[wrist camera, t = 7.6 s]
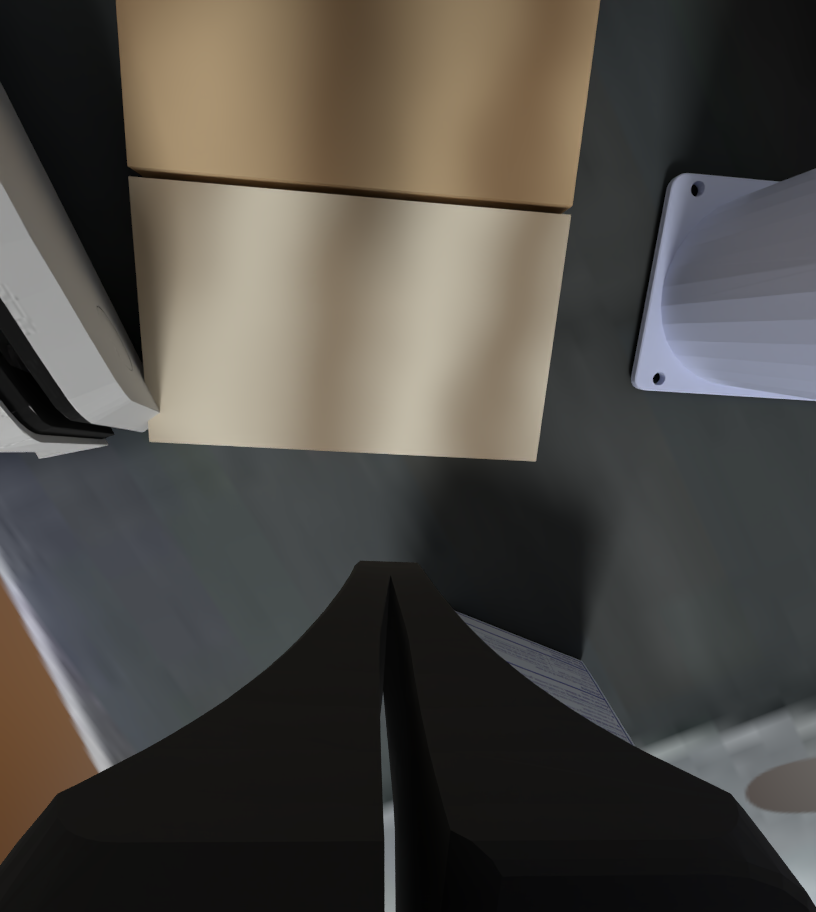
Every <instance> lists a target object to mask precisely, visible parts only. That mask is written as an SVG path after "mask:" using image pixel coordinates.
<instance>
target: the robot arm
mask: <svg viewBox="0 0 816 912" xmlns="http://www.w3.org/2000/svg"><path fill="white" fill-rule="evenodd" d="M693 184H694V185H696V187H697V188H698V193H697V195H696V197H695V196H693V195H692V193H691V187H692V185H693ZM656 373H659V375H660V379H659V381H658V382H657V383H656V384H654V383H653V377H654V375H655V374H656ZM631 382H632V384H633V386H634V387H635V388H638V389H641V390H650V391H666V392H682V393H698V394H714V395H730V396H746V397H762V398H778V399H795V400H811V401H816V168H815V169H813V170H810V171H807V172H805V173H802V174H800V175H797V176H794V177H792V178H789V179H786V180H784V181H781V182H778V181H767V180H757V179H746V178H736V177H725V176H715V175H704V174H694V173H682V174H680V175H678V176H676V177H675V178H673V179H672V180H671V181H670V182H669V184H668V186H667V189H666V194H665V200H664V205H663V210H662V215H661V221H660V226H659V231H658V237H657V242H656V247H655V253H654V258H653V263H652V269H651V274H650V279H649V284H648V290H647V295H646V300H645V306H644V311H643V316H642V322H641V327H640V332H639V337H638V343H637V348H636V353H635V359H634V364H633V369H632V375H631ZM383 693H384V705H385V716H386V727H387V738H388V749H389V759H390V770H391V781H392V792H393V803H394V822H395V886H396V912H816V907H815V905H814V903H813V902H812V900H811V898H810V897H809V895H808V894H807V892H806V891H805V889H804V888H803V887H802V885H801V884H800V883H799V881H798V880H797V879H796V877H795V876H794V875H793V873H792V872H791V871H790V870H789V868H788V867H787V866H786V864H785V863H784V862H783V860H782V859H781V858H780V856H779V855H778V854H777V852H776V851H775V850H774V848H773V847H772V846H771V844H770V843H769V842H768V840H767V839H766V838H765V836H764V835H763V834H762V832H761V831H760V830H759V829H758V827H757V826H756V825H755V823H754V822H753V821H752V819H751V818H750V817H749V816H748V814H747V813H746V812H745V810H744V809H743V808H742V807H741V806H740V804H739V803H738V802H737V801H736V800H735V798H734V797H733V796H732V795H731V794H730V793H728V792H726V791H724V790H722V789H720V788H718V787H716V786H714V785H712V784H710V783H708V782H706V781H704V780H702V779H699V778H697V777H695V776H693V775H691V774H689V773H687V772H685V771H683V770H681V769H679V768H677V767H675V766H673V765H671V764H669V763H667V762H665V761H663V760H661V759H658V758H656V757H654V756H652V755H650V754H648V753H646V752H644V751H642V750H641V749H639V748H637V747H635V746H633V745H632V744H630V743H628V742H626V741H625V740H623V739H621V738H619V737H617V736H616V735H614V734H612V733H610V732H609V731H607V730H605V729H603V728H602V727H600V726H598V725H596V724H595V723H593V722H592V721H590V720H588V719H587V718H585V717H584V716H582V715H580V714H579V713H577V712H575V711H574V710H572V709H571V708H569V707H568V706H566V705H565V704H563V703H562V702H560V701H559V700H557V699H556V698H555V697H553V696H552V695H550V694H549V693H547V692H546V691H544V690H543V689H542V688H540V687H539V686H537V685H536V684H534V683H533V682H532V681H530V680H529V679H528V678H526V677H525V676H524V675H523V674H521V673H520V672H519V671H518V670H516V669H515V668H514V667H513V666H512V665H510V664H509V663H508V662H507V661H505V660H504V659H503V658H502V657H501V656H499V655H498V654H497V653H496V652H495V651H494V650H493V649H491V648H490V647H489V646H488V645H487V644H486V643H485V642H484V641H483V640H482V639H481V638H480V637H479V636H478V635H477V634H476V633H475V632H474V631H473V630H472V629H471V628H470V627H469V626H468V625H467V624H466V623H465V622H464V621H463V620H462V619H461V617H460V616H459V615H458V614H457V613H456V612H455V610H454V609H453V608H452V607H451V606H450V605H449V603H448V602H447V601H446V600H445V598H444V597H443V596H442V595H441V593H440V592H439V591H438V589H437V588H436V587H435V586H434V584H433V583H432V581H431V580H430V579H429V577H428V576H427V575H426V573H425V572H424V570H423V569H422V568H421V566H420V565H419V564H418V563H408V562H380V561H360V562H358V563H357V564H356V565H355V566H354V569H353V571H352V573H351V574H350V576H349V578H348V579H347V581H346V582H345V584H344V585H343V587H342V588H341V590H340V591H339V592H338V594H337V595H336V596H335V598H334V599H333V600H332V602H331V603H330V604H329V606H328V607H327V608H326V609H325V611H324V612H323V613H322V614H321V615H320V616H319V618H318V619H317V620H316V621H315V622H314V623H313V624H312V625H311V626H310V628H309V629H308V630H307V631H306V632H305V633H304V634H303V635H302V636H301V637H300V638H299V639H298V640H297V641H296V642H295V643H294V644H293V645H292V646H291V647H290V648H289V649H288V650H287V651H286V652H285V653H284V654H283V655H282V656H281V657H280V658H278V659H277V660H276V661H275V662H274V663H273V664H272V665H271V666H269V667H268V668H267V669H266V670H265V671H263V672H262V673H261V674H260V675H258V676H257V677H256V678H255V679H253V680H252V681H251V682H249V683H248V684H247V685H245V686H244V687H243V688H241V689H240V690H239V691H237V692H236V693H235V694H233V695H232V696H231V697H229V698H228V699H227V700H225V701H224V702H222V703H221V704H219V705H218V706H216V707H215V708H213V709H212V710H210V711H208V712H207V713H205V714H204V715H202V716H201V717H199V718H198V719H196V720H194V721H193V722H191V723H189V724H188V725H186V726H184V727H183V728H181V729H179V730H178V731H176V732H174V733H173V734H171V735H169V736H168V737H166V738H164V739H163V740H161V741H159V742H157V743H156V744H154V745H152V746H150V747H148V748H147V749H145V750H143V751H141V752H139V753H137V754H135V755H133V756H131V757H129V758H127V759H125V760H123V761H122V762H120V763H118V764H116V765H114V766H112V767H110V768H108V769H106V770H104V771H102V772H100V773H98V774H96V775H94V776H93V777H91V778H89V779H87V780H85V781H83V782H81V783H79V784H77V785H75V786H73V787H71V788H69V789H67V790H65V791H62V792H60V793H58V794H57V795H56V796H55V797H54V799H53V800H52V801H51V803H50V804H49V805H48V806H47V808H46V809H45V810H44V811H43V813H42V814H41V815H40V816H39V817H38V819H37V820H36V821H35V822H34V823H33V825H32V826H31V827H30V828H29V829H28V830H27V832H26V833H25V834H24V835H23V836H22V838H21V839H20V840H19V841H18V842H17V844H16V845H15V846H14V848H13V849H12V850H11V852H10V853H9V854H8V856H7V857H6V858H5V860H4V861H3V862H2V864H1V865H0V912H384V823H383V800H382V772H381V738H380V713H381V704H382V695H383Z"/></svg>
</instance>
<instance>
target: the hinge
mask: <svg viewBox="0 0 816 912" xmlns="http://www.w3.org/2000/svg"><path fill="white" fill-rule="evenodd" d="M159 413H160V411H159V409H158V407H157V405H156V403H155V401H154V399H153V397H152V395H151V393H150V391H149V389H148V387H147V385H146V384H145V379H144V367H143V364H142V362H141V360H140V358H139V356H138V354H137V352H136V350H135V348H134V346H133V344H132V342H131V340H130V338H129V336H128V334H127V332H126V331H125V329H124V327H123V325H122V323H121V321H120V319H119V317H118V315H117V313H116V311H115V309H114V307H113V305H112V303H111V301H110V299H109V297H108V295H107V293H106V291H105V289H104V287H103V285H102V283H101V281H100V279H99V277H98V275H97V273H96V271H95V269H94V267H93V265H92V263H91V261H90V259H89V257H88V255H87V253H86V251H85V249H84V247H83V245H82V243H81V241H80V239H79V237H78V235H77V233H76V231H75V229H74V227H73V225H72V223H71V221H70V219H69V217H68V215H67V213H66V211H65V209H64V207H63V205H62V203H61V201H60V199H59V197H58V195H57V193H56V191H55V189H54V187H53V185H52V183H51V181H50V179H49V177H48V175H47V173H46V171H45V170H44V168H43V166H42V164H41V162H40V160H39V158H38V156H37V154H36V152H35V150H34V148H33V146H32V144H31V142H30V140H29V138H28V136H27V134H26V132H25V130H24V128H23V126H22V124H21V122H20V120H19V118H18V116H17V114H16V112H15V110H14V108H13V106H12V104H11V102H10V100H9V98H8V96H7V94H6V92H5V90H4V88H3V86H2V84H1V82H0V452H36V454H37V456H38V458H46V457H51V456H56V455H61V454H66V453H72V452H77V451H82V450H87V449H92V448H97V447H102V446H108V443H107V441H106V439H105V438H107V437H109V436H112V435H114V433H113V431H112V429H111V427H112V428H118V429H123V430H133V431H139V432H144V431H146V430H147V429H148V421H149V420H150V419H151V418H153V417H154V416H156V415H157V414H159Z"/></svg>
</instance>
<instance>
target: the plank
mask: <svg viewBox="0 0 816 912" xmlns="http://www.w3.org/2000/svg"><path fill="white" fill-rule="evenodd" d="M599 5H600V0H116V10H117V25H118V39H119V53H120V67H121V82H122V96H123V110H124V125H125V139H126V153H127V166H128V167H130V168H131V169H132V170H134V171H135V172H137V173H138V174H140V175H141V176H143V177H144V178H154V179H166V180H177V181H188V182H200V183H211V184H223V185H234V186H245V187H257V188H268V189H280V190H291V191H302V192H314V193H325V194H337V195H348V196H359V197H371V198H382V199H394V200H405V201H416V202H428V203H439V204H451V205H462V206H474V207H485V208H496V209H508V210H519V211H531V212H542V213H553V214H562V213H563V212H564V211H566V210H567V209H568V208H570V207H571V206H572V205H573V197H574V190H575V183H576V175H577V168H578V161H579V153H580V146H581V138H582V131H583V124H584V116H585V109H586V101H587V94H588V87H589V79H590V72H591V64H592V57H593V50H594V42H595V35H596V27H597V20H598V13H599Z"/></svg>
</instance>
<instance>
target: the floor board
mask: <svg viewBox="0 0 816 912" xmlns="http://www.w3.org/2000/svg"><path fill="white" fill-rule="evenodd" d="M128 180H129V192H130V205H131V217H132V230H133V242H134V255H135V267H136V280H137V292H138V305H139V317H140V330H141V342H142V355H143V367H144V379H145V384H146V385H147V387H148V389H149V391H150V393H151V395H152V397H153V399H154V401H155V403H156V405H157V407H158V409H159V411H160V413H159V414H157V415H156V416H154V417H153V418H151V419H150V420H149V421H148V429H149V442H164V443H184V444H203V445H223V446H243V447H262V448H282V449H302V450H321V451H341V452H361V453H380V454H400V455H420V456H439V457H459V458H479V459H498V460H518V461H536V457H537V450H538V443H539V436H540V429H541V422H542V415H543V408H544V401H545V394H546V387H547V380H548V373H549V366H550V359H551V352H552V345H553V338H554V331H555V324H556V317H557V310H558V303H559V296H560V289H561V282H562V275H563V268H564V261H565V254H566V247H567V240H568V233H569V226H570V219H571V215H565V214H553V213H542V212H531V211H519V210H508V209H496V208H485V207H474V206H462V205H451V204H439V203H428V202H416V201H405V200H394V199H382V198H371V197H359V196H348V195H337V194H325V193H314V192H302V191H291V190H280V189H268V188H257V187H245V186H234V185H223V184H211V183H200V182H188V181H177V180H166V179H154V178H143V177H131V176H128Z"/></svg>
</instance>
